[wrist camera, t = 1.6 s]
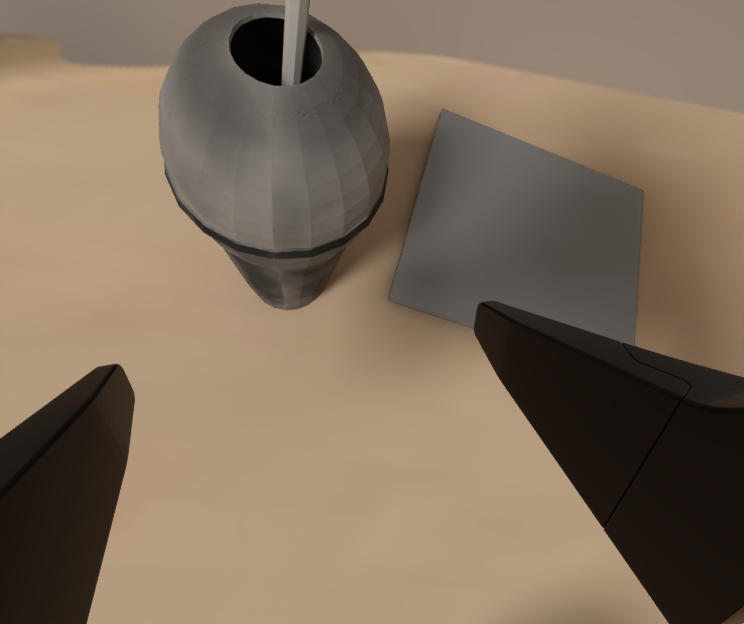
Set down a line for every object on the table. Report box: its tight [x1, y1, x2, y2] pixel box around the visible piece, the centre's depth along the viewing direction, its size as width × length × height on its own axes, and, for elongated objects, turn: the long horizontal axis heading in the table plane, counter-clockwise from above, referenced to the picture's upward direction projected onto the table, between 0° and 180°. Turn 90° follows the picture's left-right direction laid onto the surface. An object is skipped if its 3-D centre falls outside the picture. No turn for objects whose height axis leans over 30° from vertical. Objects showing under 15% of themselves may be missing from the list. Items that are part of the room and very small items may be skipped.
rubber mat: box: [388, 109, 644, 346], centre depth 27 cm, size 16×18×1 cm
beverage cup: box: [159, 0, 390, 310], centre depth 14 cm, size 7×7×20 cm
